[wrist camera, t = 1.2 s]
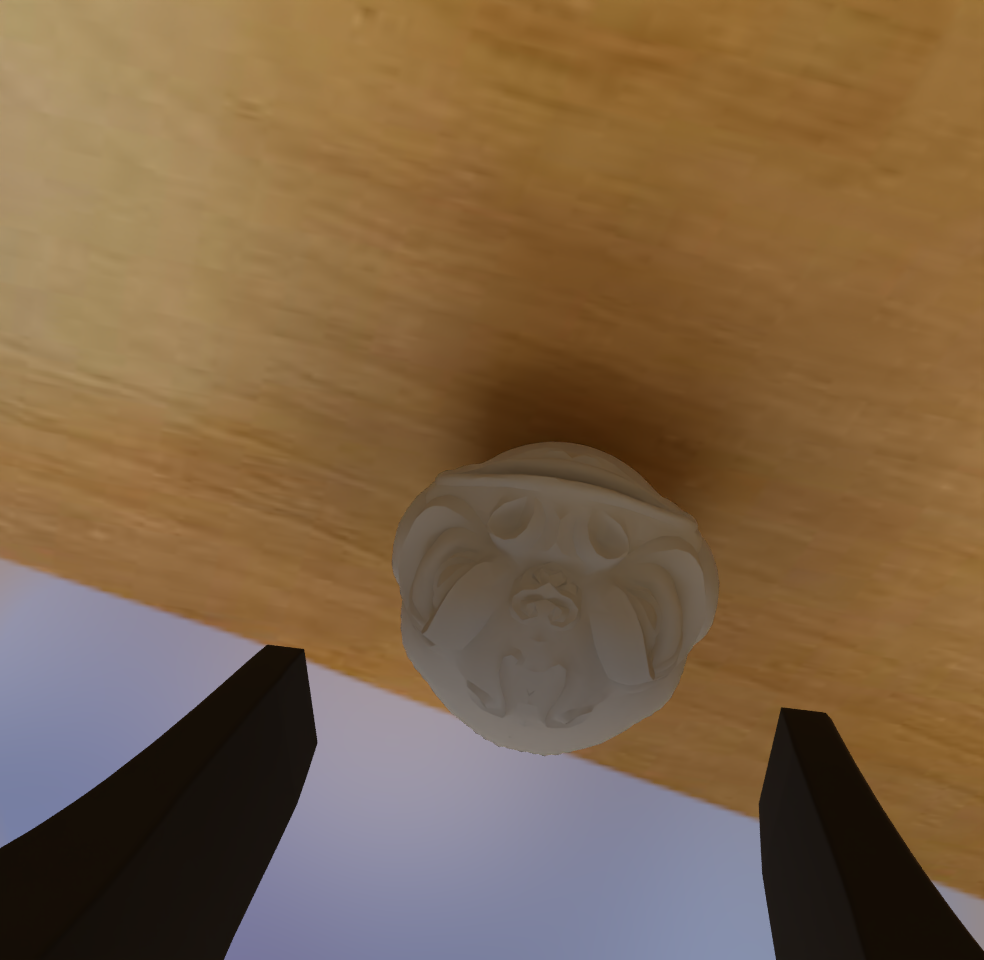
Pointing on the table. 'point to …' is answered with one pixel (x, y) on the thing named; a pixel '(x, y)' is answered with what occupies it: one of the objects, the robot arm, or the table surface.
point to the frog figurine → (551, 595)
